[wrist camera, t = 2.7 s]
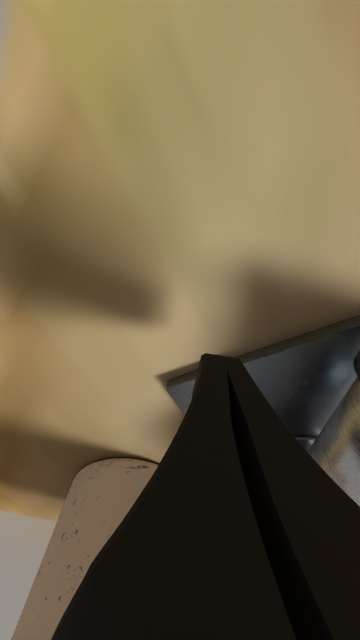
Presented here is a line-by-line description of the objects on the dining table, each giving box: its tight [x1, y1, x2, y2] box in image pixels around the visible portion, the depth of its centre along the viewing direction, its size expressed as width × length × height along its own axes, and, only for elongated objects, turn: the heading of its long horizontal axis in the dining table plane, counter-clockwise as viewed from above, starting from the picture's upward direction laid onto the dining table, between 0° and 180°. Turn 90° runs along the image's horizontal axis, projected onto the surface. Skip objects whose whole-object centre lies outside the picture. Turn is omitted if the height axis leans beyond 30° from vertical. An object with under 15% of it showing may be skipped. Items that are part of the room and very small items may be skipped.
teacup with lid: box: [11, 458, 158, 640], centre depth 15 cm, size 12×9×12 cm
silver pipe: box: [306, 350, 360, 506], centre depth 12 cm, size 13×5×5 cm, turn 172°
